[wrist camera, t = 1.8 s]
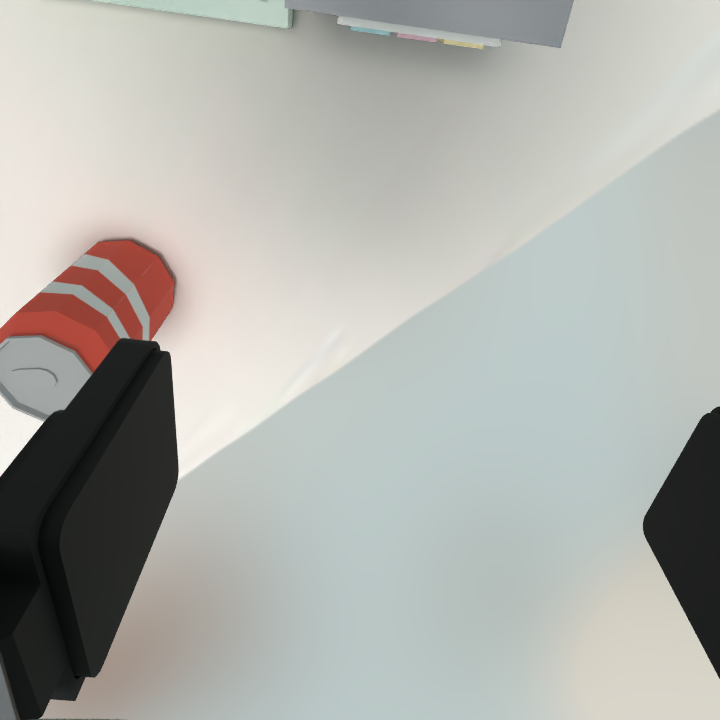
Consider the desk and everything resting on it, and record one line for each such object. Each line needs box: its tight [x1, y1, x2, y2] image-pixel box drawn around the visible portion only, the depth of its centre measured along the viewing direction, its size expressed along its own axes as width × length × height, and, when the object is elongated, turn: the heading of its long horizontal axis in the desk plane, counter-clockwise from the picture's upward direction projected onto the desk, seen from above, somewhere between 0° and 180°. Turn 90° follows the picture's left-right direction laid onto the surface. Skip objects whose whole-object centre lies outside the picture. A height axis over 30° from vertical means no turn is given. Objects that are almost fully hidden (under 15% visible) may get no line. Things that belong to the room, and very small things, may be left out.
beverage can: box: [0, 240, 175, 422], centre depth 32 cm, size 6×6×12 cm
